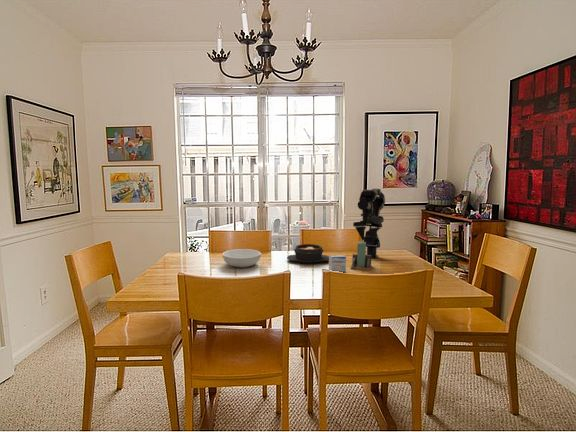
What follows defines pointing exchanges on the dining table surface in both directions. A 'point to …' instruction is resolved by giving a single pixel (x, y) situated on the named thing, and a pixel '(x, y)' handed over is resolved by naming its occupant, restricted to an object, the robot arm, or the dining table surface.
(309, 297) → the dining table surface
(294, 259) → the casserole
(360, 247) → the book
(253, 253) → the serving bowl
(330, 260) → the medicine box
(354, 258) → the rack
